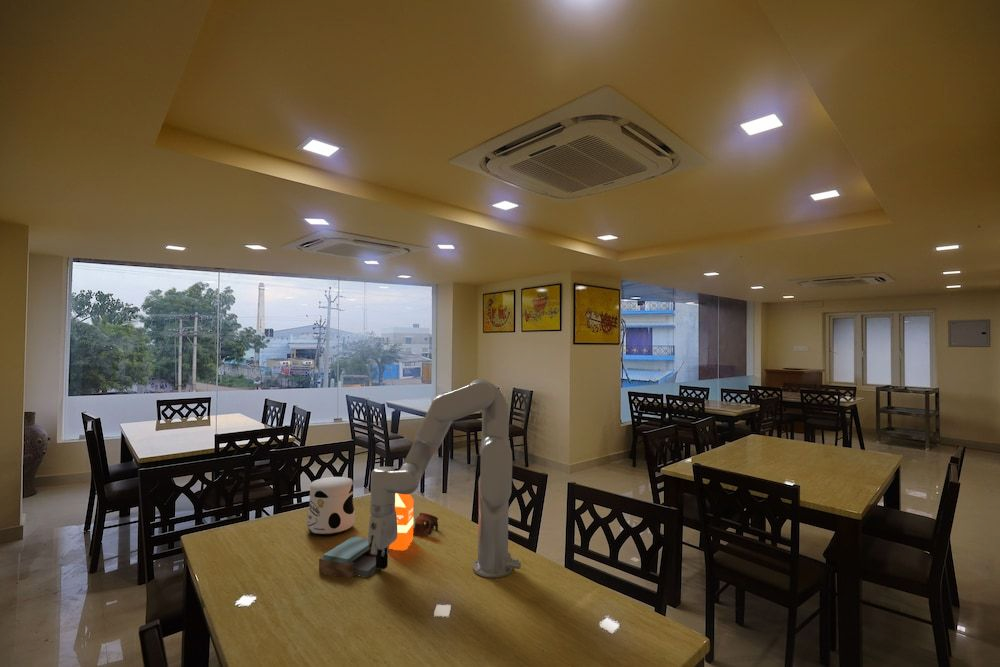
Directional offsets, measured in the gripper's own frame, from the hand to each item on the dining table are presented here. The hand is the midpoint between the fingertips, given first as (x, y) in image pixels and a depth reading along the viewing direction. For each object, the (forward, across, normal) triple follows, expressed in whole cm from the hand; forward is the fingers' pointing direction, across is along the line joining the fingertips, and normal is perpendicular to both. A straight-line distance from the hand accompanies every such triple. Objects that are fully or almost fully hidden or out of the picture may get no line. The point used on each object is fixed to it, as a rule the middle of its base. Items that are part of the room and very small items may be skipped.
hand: (381, 567), depth 148 cm
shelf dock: (+1, 0, +11) cm, 11 cm away
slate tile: (+2, -1, +9) cm, 9 cm away
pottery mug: (+1, +32, +1) cm, 32 cm away
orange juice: (+1, +19, +5) cm, 20 cm away
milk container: (+1, +22, +36) cm, 42 cm away
